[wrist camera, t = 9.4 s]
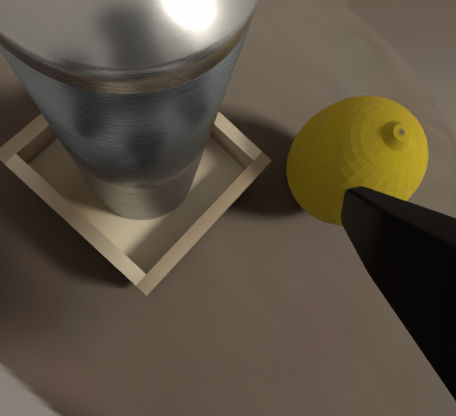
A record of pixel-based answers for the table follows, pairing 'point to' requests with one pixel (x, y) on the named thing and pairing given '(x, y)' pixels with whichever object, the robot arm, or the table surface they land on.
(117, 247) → the square wooden tray
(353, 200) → the robot arm
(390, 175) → the lemon
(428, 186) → the table surface
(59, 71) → the canister
